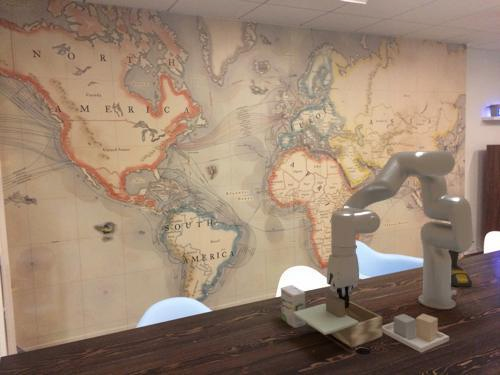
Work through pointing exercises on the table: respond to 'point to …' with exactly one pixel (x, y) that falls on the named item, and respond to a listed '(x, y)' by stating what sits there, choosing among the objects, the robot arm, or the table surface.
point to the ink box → (292, 305)
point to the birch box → (360, 326)
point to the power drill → (458, 272)
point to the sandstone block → (426, 327)
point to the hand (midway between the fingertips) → (343, 306)
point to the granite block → (405, 326)
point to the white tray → (415, 339)
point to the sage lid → (327, 316)
